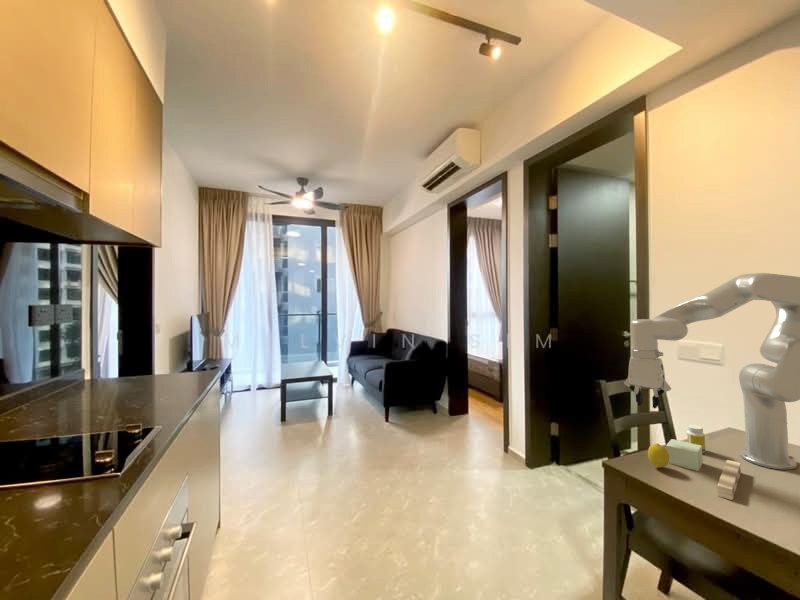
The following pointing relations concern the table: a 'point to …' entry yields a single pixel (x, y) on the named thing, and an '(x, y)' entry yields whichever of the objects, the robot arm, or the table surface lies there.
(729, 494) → the beige wavy bar
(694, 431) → the supplement bottle
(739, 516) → the table surface
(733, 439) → the table surface
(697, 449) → the block
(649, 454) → the lemon
